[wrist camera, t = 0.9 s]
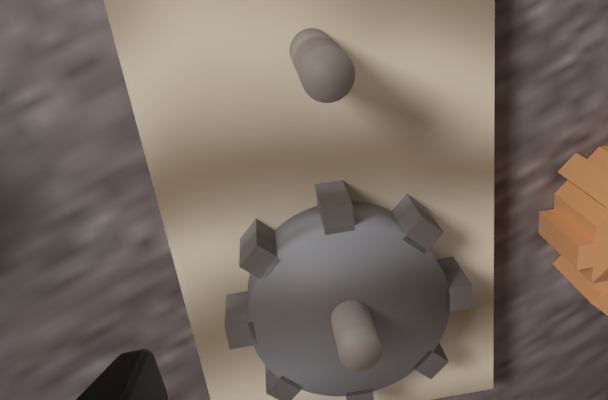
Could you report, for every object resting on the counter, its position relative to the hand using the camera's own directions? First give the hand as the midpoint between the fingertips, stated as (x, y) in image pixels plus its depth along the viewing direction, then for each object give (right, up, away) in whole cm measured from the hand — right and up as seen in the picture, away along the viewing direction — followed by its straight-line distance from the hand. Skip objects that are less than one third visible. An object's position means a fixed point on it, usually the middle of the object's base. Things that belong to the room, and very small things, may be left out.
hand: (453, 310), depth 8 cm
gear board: (-2, +3, +13) cm, 13 cm away
